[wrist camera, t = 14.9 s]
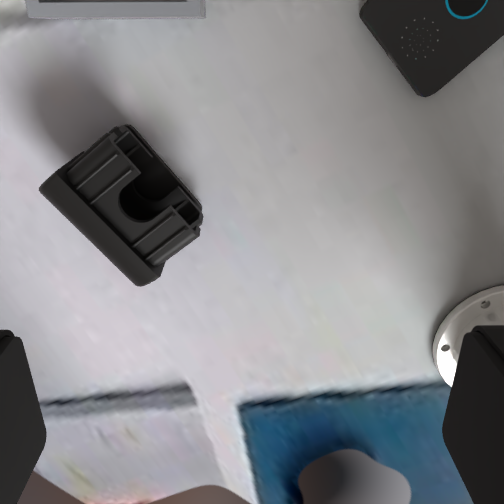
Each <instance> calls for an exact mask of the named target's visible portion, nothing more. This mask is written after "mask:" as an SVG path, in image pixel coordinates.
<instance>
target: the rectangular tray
mask: <svg viewBox="0 0 504 504" xmlns="http://www.w3.org/2000/svg"><path fill="white" fill-rule="evenodd" d="M25 2H26V8H27V13H28V17H29V18H44V19H165V18H206V14H205V0H25Z"/></svg>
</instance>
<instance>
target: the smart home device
mask: <svg viewBox="0 0 504 504" xmlns="http://www.w3.org/2000/svg"><path fill="white" fill-rule="evenodd" d="M360 18H361V19H362V21H363V22H364V24H365V25H366V26H367V28H368V29H369V30H370V32H371V33H372V34H373V36H374V37H375V38H376V40H377V41H378V42H379V44H380V45H381V46H382V48H383V49H384V50H385V52H386V53H387V55H388V56H389V58H390V59H391V60H392V62H393V63H394V64H395V65H396V67H397V68H398V69H399V71H400V72H401V73H402V75H403V76H404V77H405V79H406V80H407V81H408V83H409V84H410V85H411V87H412V88H413V89H414V91H415V92H416V93H417V94H418V95H420V96H422V97H428V96H430V95H432V94H434V93H436V92H437V91H438V90H440V89H441V88H442V87H443V86H444V85H446V84H447V83H448V82H449V81H450V80H451V79H453V78H454V77H455V76H456V75H457V74H458V73H460V72H461V71H462V70H463V69H464V68H465V67H467V66H468V65H469V64H470V63H471V62H472V61H474V60H475V59H476V58H477V57H478V56H480V55H481V54H482V53H483V52H484V51H485V50H487V49H488V48H489V47H490V46H491V45H492V44H494V43H495V42H496V41H497V40H498V39H499V38H501V37H502V36H503V35H504V0H368V1H367V2H366V3H365V4H364V6H363V7H362V9H361V11H360Z"/></svg>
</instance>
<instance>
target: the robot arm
mask: <svg viewBox="0 0 504 504" xmlns="http://www.w3.org/2000/svg"><path fill="white" fill-rule="evenodd" d="M433 359H434V363H435V366H436V368H437V370H438V372H439V374H440V375H441V377H442V378H443V379H444V381H445V382H446V383H447V384H448V385H449V386H451V392H450V396H449V400H448V404H447V409H446V413H445V417H444V421H443V427H442V433H443V439H444V442H445V445H446V447H447V449H448V451H449V453H450V455H451V457H452V459H453V461H454V463H455V465H456V467H457V470H458V472H459V474H460V476H461V478H462V480H463V482H464V484H465V486H466V488H467V490H468V492H469V494H470V497H471V499H472V501H473V503H474V504H504V285H503V286H497V287H493V288H490V289H487V290H484V291H481V292H479V293H477V294H475V295H473V296H471V297H469V298H467V299H466V300H465V301H463V302H462V303H460V304H459V305H457V306H456V307H455V308H454V309H453V310H452V311H451V312H450V313H449V314H448V315H447V317H446V318H445V319H444V321H443V322H442V323H441V325H440V327H439V329H438V331H437V333H436V335H435V339H434V343H433ZM45 442H46V428H45V424H44V420H43V417H42V413H41V409H40V405H39V402H38V398H37V394H36V390H35V387H34V383H33V379H32V376H31V372H30V368H29V364H28V361H27V357H26V353H25V349H24V346H23V342H22V340H21V339H20V337H15V336H14V334H13V333H12V332H11V331H10V330H0V504H17V502H18V500H19V498H20V496H21V494H22V491H23V490H24V488H25V485H26V483H27V481H28V479H29V477H30V475H31V473H32V471H33V469H34V467H35V465H36V463H37V461H38V459H39V457H40V455H41V453H42V451H43V449H44V446H45Z"/></svg>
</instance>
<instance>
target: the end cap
mask: <svg viewBox="0 0 504 504" xmlns="http://www.w3.org/2000/svg"><path fill="white" fill-rule="evenodd" d="M39 191H40V193H41V194H42V195H43V196H44V197H45V198H46V199H48V200H49V201H50V202H51V203H52V204H53V205H54V206H55V207H56V208H57V209H58V210H59V211H60V212H61V213H62V214H63V215H64V216H65V217H66V218H67V219H68V220H69V221H70V222H71V223H72V224H73V225H74V226H75V227H76V228H77V229H78V230H79V231H80V232H81V233H82V234H83V235H84V236H85V237H86V238H87V239H88V240H90V241H91V242H92V243H93V244H94V245H95V246H96V247H97V248H98V249H99V250H100V251H101V252H102V253H103V254H104V255H105V256H106V257H107V258H108V259H109V260H110V261H111V262H112V263H113V264H114V265H115V266H116V267H117V268H118V269H119V270H120V271H121V272H122V273H123V274H124V275H125V276H126V277H127V278H128V279H129V280H131V281H132V282H133V283H134V284H135V285H136V286H145V285H147V284H149V283H151V282H153V281H155V280H156V279H158V278H159V277H160V276H161V273H162V270H163V267H164V264H165V262H166V260H168V259H169V258H170V257H172V256H173V255H175V254H176V253H177V252H179V251H180V250H181V249H183V248H184V247H185V246H187V245H188V244H189V243H191V242H192V241H193V240H195V239H196V238H197V237H199V236H200V228H199V226H200V225H202V221H203V214H202V206H201V204H200V203H199V202H198V201H197V199H196V198H195V197H194V196H193V195H192V194H191V193H190V191H189V190H188V189H187V188H186V187H185V186H184V185H183V183H182V182H181V181H180V180H179V179H178V178H177V177H176V175H175V174H174V173H173V172H172V171H171V170H170V169H169V167H168V166H167V165H166V164H165V163H164V162H163V161H162V159H161V158H160V157H159V156H158V155H157V154H156V153H155V151H154V150H153V149H152V148H151V147H150V146H149V145H148V143H147V142H146V141H145V140H144V139H143V138H142V137H141V135H140V134H139V133H138V132H137V131H136V130H135V129H134V127H132V126H131V125H124V126H121V127H114V128H113V129H112V130H111V131H110V132H109V133H106V134H105V135H104V136H103V137H102V138H100V139H99V140H98V141H97V142H96V143H95V144H94V145H92V146H91V147H90V148H89V149H88V150H87V151H86V152H85V151H83V152H81V153H80V154H79V155H77V156H76V157H75V158H73V159H72V160H71V161H69V162H68V163H66V164H65V165H64V166H62V167H61V168H60V169H58V170H57V171H56V172H55V173H53V174H52V175H51V176H50V177H49V178H48V179H47V180H46V181H45V182H44V183H43V184H42V185H41V186H40V187H39Z"/></svg>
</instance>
